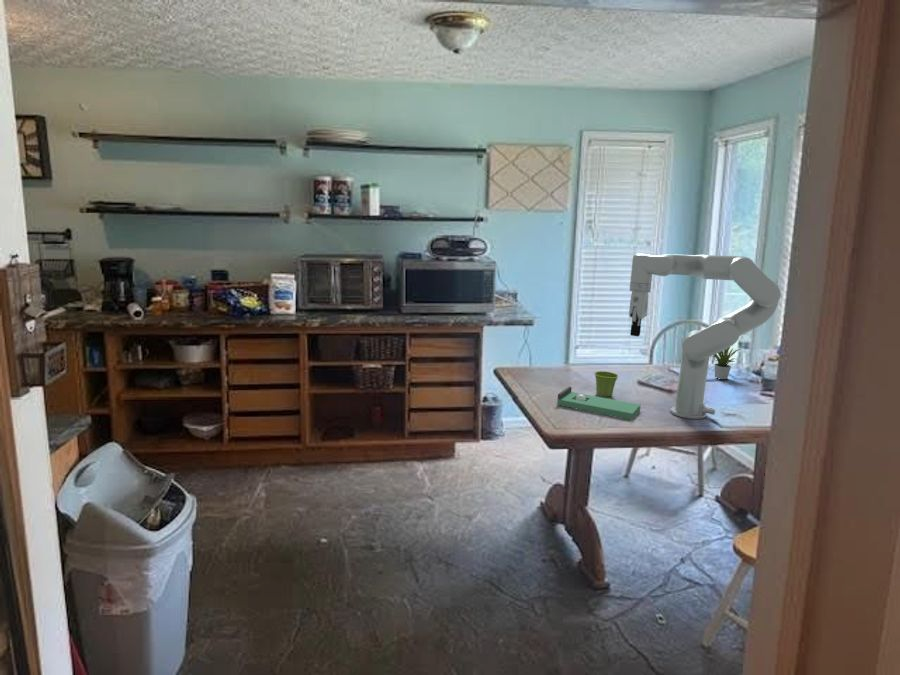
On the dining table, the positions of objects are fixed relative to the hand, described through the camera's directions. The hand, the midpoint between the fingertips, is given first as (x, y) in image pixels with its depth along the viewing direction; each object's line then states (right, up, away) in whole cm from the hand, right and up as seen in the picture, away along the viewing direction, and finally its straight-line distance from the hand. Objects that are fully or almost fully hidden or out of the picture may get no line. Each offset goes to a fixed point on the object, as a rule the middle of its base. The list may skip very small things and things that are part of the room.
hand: (634, 335), depth 246 cm
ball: (-20, -24, +2) cm, 32 cm away
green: (-14, -27, -1) cm, 31 cm away
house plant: (+56, -20, +54) cm, 80 cm away
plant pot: (-8, -24, +17) cm, 30 cm away
